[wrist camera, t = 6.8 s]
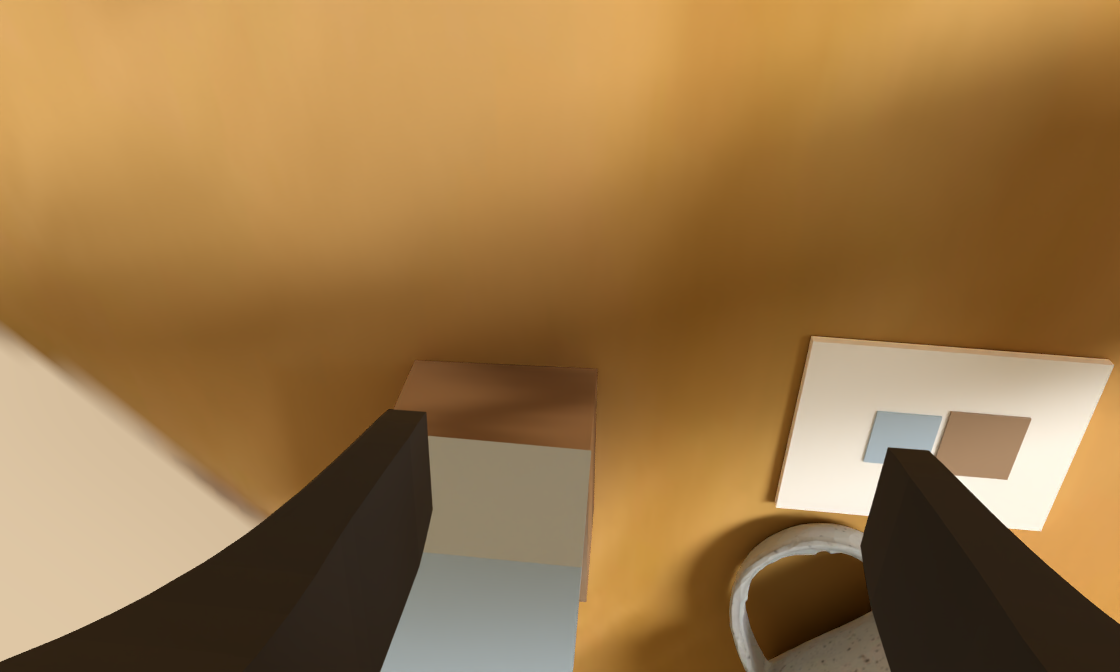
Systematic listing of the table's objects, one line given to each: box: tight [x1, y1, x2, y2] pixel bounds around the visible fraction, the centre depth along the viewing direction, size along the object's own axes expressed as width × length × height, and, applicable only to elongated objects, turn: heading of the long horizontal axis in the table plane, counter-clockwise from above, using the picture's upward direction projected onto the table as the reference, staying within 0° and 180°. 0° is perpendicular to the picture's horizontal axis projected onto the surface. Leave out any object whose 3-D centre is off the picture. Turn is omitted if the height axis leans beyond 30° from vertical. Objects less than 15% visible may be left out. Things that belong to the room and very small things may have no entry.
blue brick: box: [380, 436, 591, 672], centre depth 21 cm, size 5×5×4 cm
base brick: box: [394, 360, 597, 602], centre depth 25 cm, size 5×5×4 cm
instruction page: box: [775, 336, 1114, 531], centre depth 25 cm, size 8×6×1 cm
